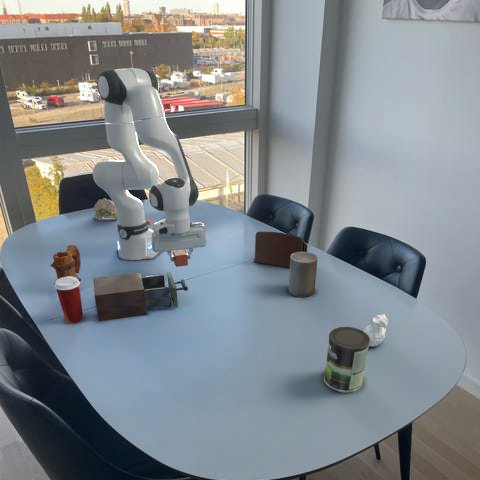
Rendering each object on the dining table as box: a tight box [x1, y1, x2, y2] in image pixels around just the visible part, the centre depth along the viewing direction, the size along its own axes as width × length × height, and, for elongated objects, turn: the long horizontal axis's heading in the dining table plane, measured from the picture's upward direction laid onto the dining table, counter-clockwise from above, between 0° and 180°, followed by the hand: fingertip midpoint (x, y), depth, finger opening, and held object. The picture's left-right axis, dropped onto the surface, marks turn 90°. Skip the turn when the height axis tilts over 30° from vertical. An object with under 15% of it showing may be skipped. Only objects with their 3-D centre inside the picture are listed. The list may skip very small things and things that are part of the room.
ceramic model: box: [93, 197, 118, 221], centre depth 241 cm, size 14×11×10 cm
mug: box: [50, 244, 82, 285], centre depth 170 cm, size 15×8×15 cm, turn 168°
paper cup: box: [54, 276, 84, 324], centre depth 150 cm, size 8×8×14 cm
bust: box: [363, 313, 389, 348], centre depth 139 cm, size 12×8×11 cm
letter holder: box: [254, 231, 308, 269], centre depth 191 cm, size 10×20×14 cm, turn 69°
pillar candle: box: [288, 251, 319, 298], centre depth 167 cm, size 10×10×15 cm
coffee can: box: [323, 326, 370, 394], centre depth 122 cm, size 10×10×14 cm
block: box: [172, 249, 189, 268], centre depth 176 cm, size 5×5×5 cm
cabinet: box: [92, 272, 148, 322], centre depth 157 cm, size 16×14×10 cm
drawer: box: [141, 271, 189, 311], centre depth 160 cm, size 19×12×8 cm, turn 106°
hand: (180, 259), depth 176 cm, fingers closed on block, 4 cm apart
